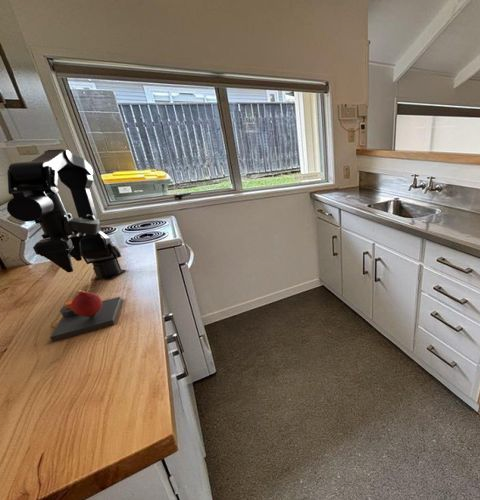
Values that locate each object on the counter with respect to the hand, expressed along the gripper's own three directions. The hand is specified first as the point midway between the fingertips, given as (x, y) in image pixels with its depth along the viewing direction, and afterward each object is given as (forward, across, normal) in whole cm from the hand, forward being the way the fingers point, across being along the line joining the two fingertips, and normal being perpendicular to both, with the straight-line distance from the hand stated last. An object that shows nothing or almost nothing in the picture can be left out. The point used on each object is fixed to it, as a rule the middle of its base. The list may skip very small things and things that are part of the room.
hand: (75, 265), depth 80 cm
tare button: (+9, -7, +1) cm, 12 cm away
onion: (+11, -14, -3) cm, 18 cm away
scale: (+12, -12, -2) cm, 17 cm away
